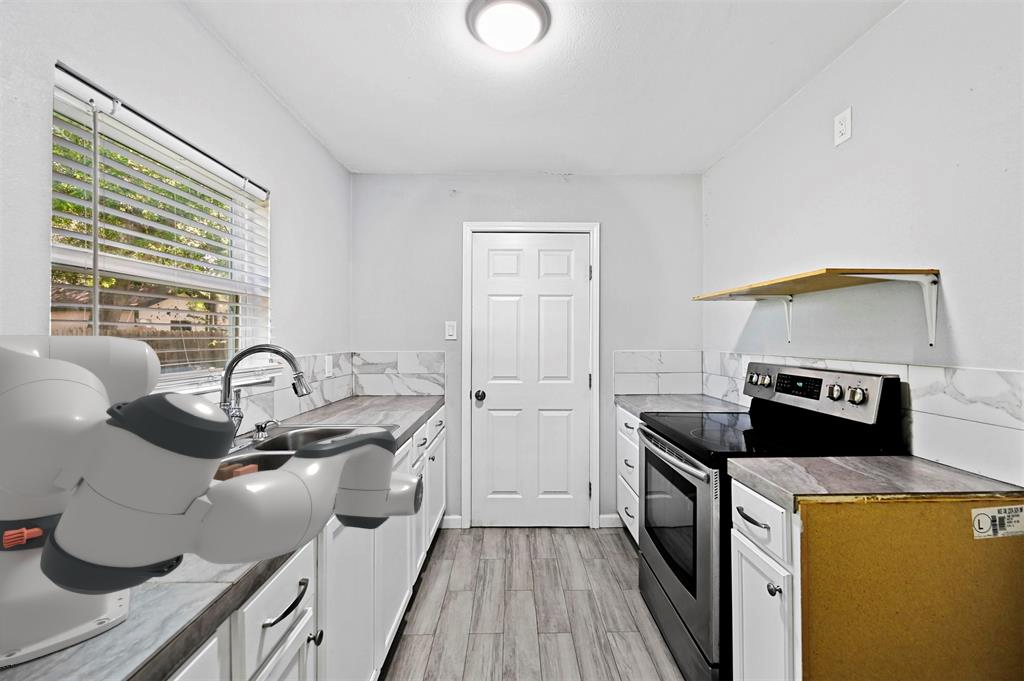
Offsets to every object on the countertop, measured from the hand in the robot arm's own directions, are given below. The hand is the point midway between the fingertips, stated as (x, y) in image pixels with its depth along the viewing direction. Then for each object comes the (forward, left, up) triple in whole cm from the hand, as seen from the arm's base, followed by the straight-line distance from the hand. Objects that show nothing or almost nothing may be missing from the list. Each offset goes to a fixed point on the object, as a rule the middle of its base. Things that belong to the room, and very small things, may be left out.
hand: (293, 485), depth 98 cm
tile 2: (+14, +8, -7) cm, 18 cm away
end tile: (+11, +6, -7) cm, 14 cm away
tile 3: (+18, +10, -7) cm, 21 cm away
